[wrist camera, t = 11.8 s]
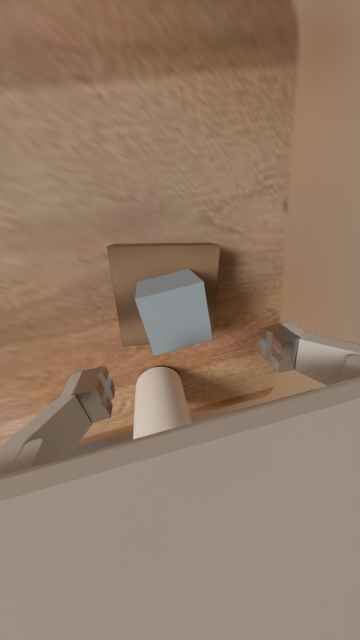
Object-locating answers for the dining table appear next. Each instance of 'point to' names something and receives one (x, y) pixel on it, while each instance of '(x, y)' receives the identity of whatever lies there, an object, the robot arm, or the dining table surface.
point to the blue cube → (173, 311)
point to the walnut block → (153, 262)
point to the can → (159, 402)
